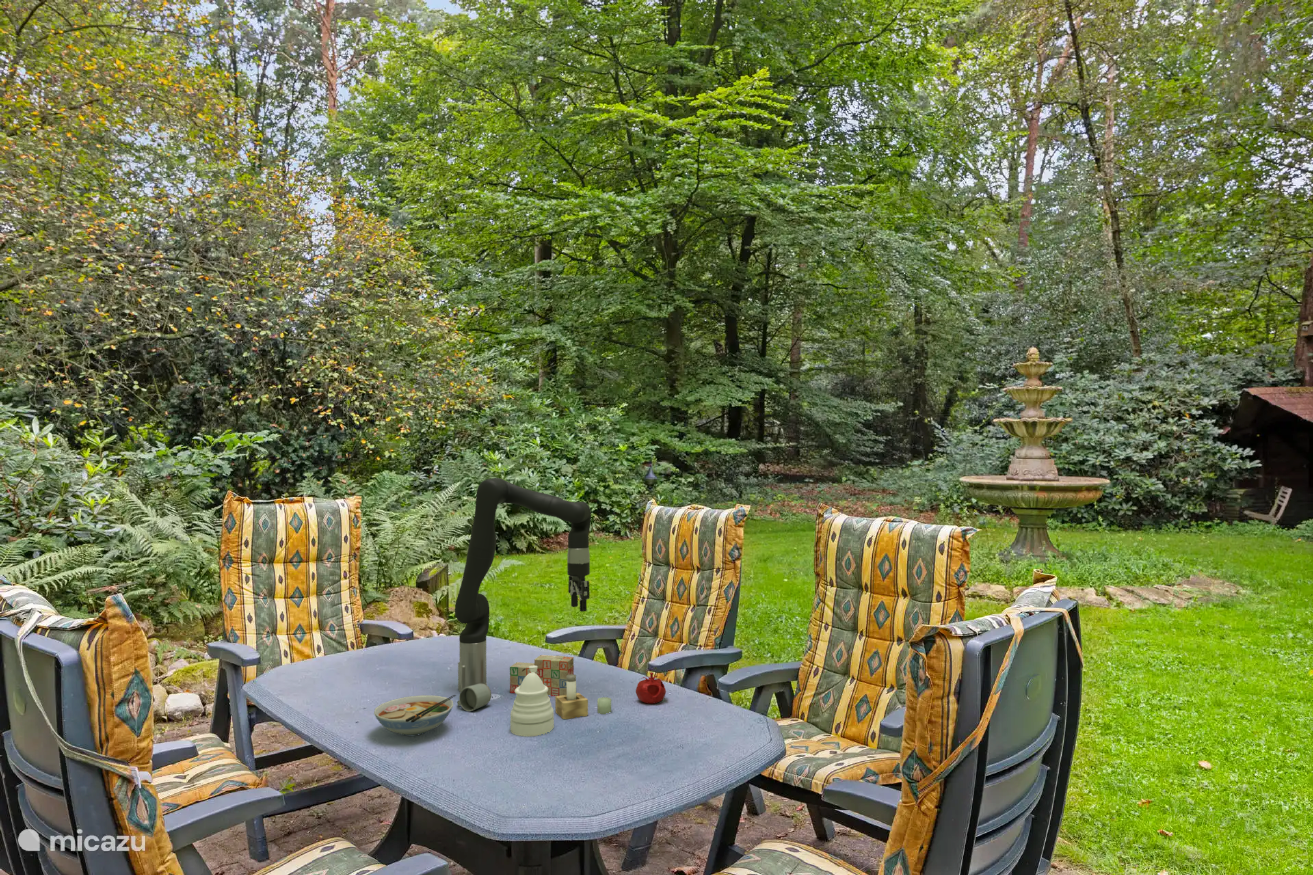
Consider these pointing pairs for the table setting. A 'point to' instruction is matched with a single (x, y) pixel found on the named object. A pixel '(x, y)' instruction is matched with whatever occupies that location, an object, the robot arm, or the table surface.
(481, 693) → the ceramic mug
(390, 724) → the ramen bowl
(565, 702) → the bead block
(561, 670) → the stack of blocks
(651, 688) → the pomegranate
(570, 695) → the cream capped cylinder
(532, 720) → the honey pot
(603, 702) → the bead
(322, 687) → the table surface
